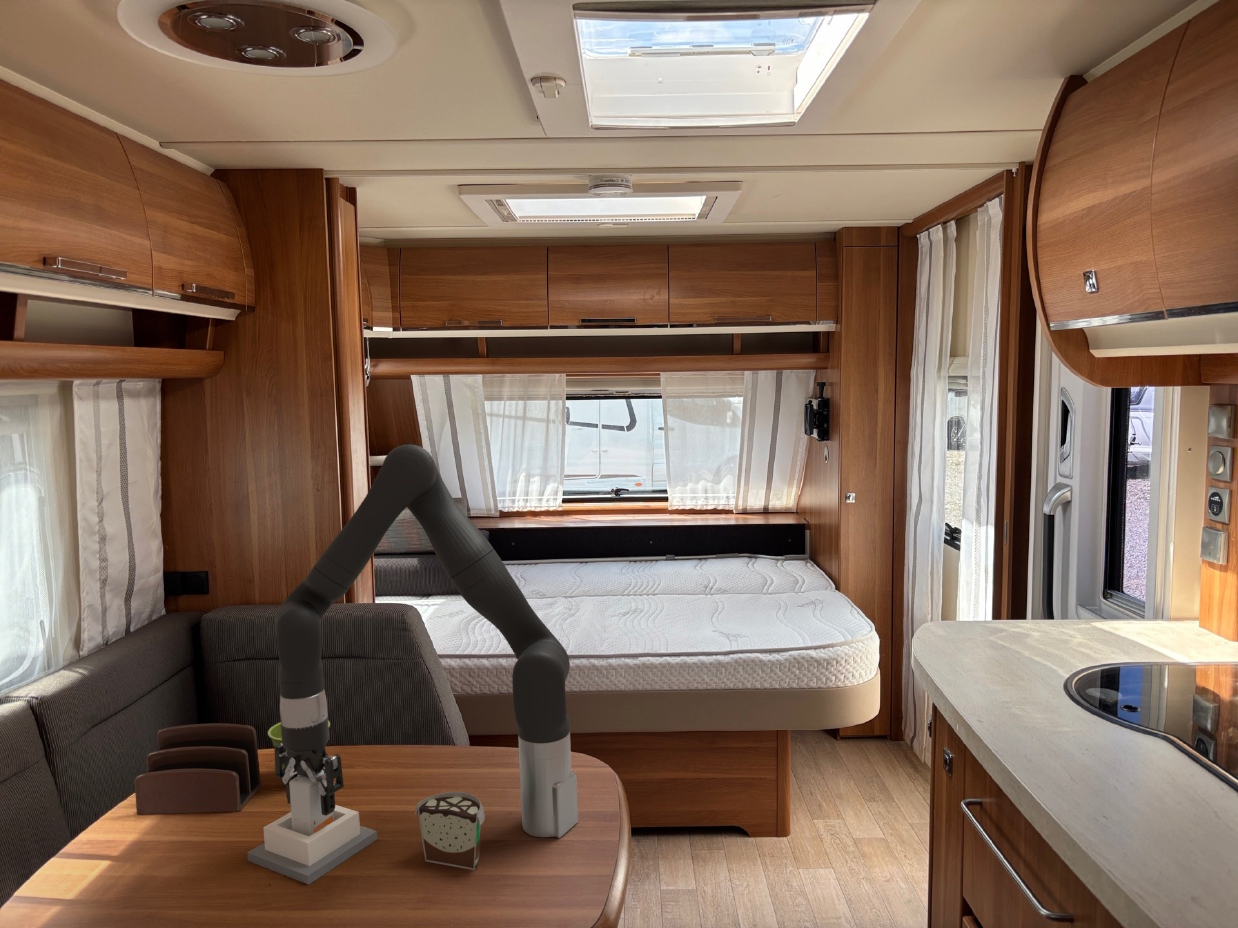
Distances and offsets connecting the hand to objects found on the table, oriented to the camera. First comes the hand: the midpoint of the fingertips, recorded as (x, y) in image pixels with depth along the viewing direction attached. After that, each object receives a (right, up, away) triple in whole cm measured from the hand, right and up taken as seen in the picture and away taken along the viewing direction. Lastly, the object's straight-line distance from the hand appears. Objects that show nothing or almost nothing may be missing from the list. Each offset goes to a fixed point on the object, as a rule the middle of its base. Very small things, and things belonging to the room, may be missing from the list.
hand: (310, 807), depth 145 cm
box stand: (0, -8, +1) cm, 8 cm away
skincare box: (0, -6, +1) cm, 6 cm away
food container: (+26, -7, -2) cm, 27 cm away
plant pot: (-11, -6, +27) cm, 30 cm away
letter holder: (-29, -7, +20) cm, 36 cm away
